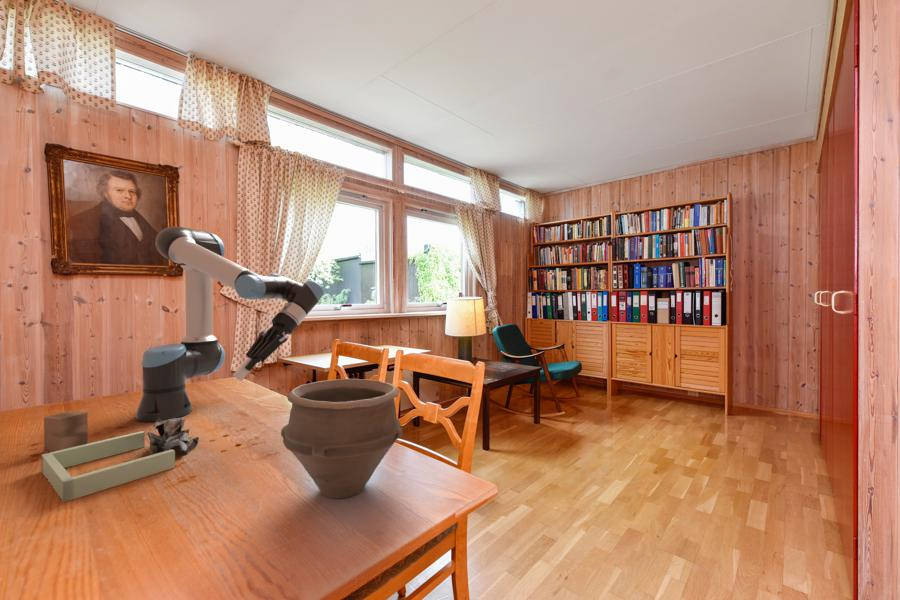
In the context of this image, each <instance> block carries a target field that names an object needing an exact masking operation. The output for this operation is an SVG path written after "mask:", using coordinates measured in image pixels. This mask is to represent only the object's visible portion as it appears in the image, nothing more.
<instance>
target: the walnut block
mask: <svg viewBox="0 0 900 600" xmlns="http://www.w3.org/2000/svg"><path fill="white" fill-rule="evenodd" d="M88 413H89V412H88V411H87V412H86V411H80V410H79V411H77V410H68V411H65V412H60V413H56V414H53V415H48V416H44V417H43V424H44V425H43V438H44V439H43V442H44V444H43V447H44V449H43V450H44V452H45V451H49V452H48V453H50V452H55V451H59V450H63V449H68V448H72V447H76V446H80V445H85V444H89V442H88V441H89V439H88V438H89V437H88V435H89V433H88V431H89V429H88V428H89V427H88V426H89V425H88V424H89V423H88Z"/></svg>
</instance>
